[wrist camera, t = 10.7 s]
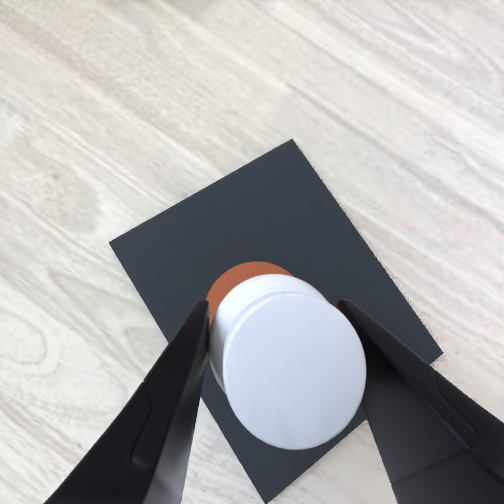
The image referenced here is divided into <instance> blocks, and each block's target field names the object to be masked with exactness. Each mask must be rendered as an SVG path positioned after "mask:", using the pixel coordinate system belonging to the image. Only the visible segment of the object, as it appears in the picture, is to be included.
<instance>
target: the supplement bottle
mask: <svg viewBox="0 0 504 504" xmlns="http://www.w3.org/2000/svg"><path fill="white" fill-rule="evenodd" d="M208 351H209V359H210V363H211V367H212V370H213V373H214V375H215V378H216V380H217V382H218V384H219V385H220V387H221V388H222V390H223V391H224V392H225V394H226V395H227V398H228V400H229V403H230V405H231V407H232V409H233V411H234V413H235V415H236V416H237V418H238V419H239V420H240V422H241V423H242V424H243V425H244V426H245V428H246V429H247V430H248V431H249V432H251V433H252V434H253V435H254V436H255V437H257V438H258V439H260V440H262V441H264V442H265V443H267V444H270V445H273V446H275V447H278V448H283V449H290V450H301V449H308V448H313V447H316V446H319V445H321V444H323V443H325V442H328V441H329V440H330V439H332V438H333V437H335V436H336V435H337V434H339V433H340V432H341V431H342V430H343V429H344V428H345V427H346V426H347V425H348V424H349V422H350V421H351V419H352V418H353V417H354V415H355V413H356V411H357V409H358V407H359V405H360V403H361V400H362V397H363V393H364V389H365V382H366V361H365V355H364V351H363V347H362V344H361V342H360V339H359V337H358V335H357V333H356V331H355V329H354V328H353V326H352V325H351V323H350V322H349V321H348V319H347V318H346V317H345V316H344V315H343V314H342V313H341V312H340V311H339V310H338V309H337V308H335V307H334V306H333V305H331V304H330V303H328V301H327V300H326V299H325V298H324V297H323V296H322V294H320V293H319V292H318V291H317V290H316V289H315V288H314V287H312V286H311V285H309V284H308V283H306V282H304V281H302V280H300V279H298V278H295V277H292V276H288V275H282V274H266V275H260V276H256V277H253V278H250V279H248V280H246V281H244V282H242V283H240V284H238V285H237V286H235V287H234V288H233V289H232V290H231V291H230V292H229V293H228V294H227V295H226V297H225V298H224V299H223V300H222V302H221V303H220V305H219V307H218V308H217V310H216V312H215V315H214V317H213V320H212V323H211V326H210V331H209V339H208Z"/></svg>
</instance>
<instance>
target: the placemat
mask: <svg viewBox="0 0 504 504" xmlns="http://www.w3.org/2000/svg"><path fill="white" fill-rule="evenodd" d="M109 244H110V246H111V247H112V249H113V251H114V252H115V254H116V256H117V257H118V259H119V261H120V262H121V264H122V266H123V267H124V269H125V271H126V272H127V274H128V276H129V277H130V279H131V281H132V282H133V284H134V286H135V287H136V289H137V291H138V292H139V294H140V296H141V297H142V299H143V301H144V302H145V304H146V306H147V307H148V309H149V311H150V312H151V314H152V316H153V317H154V319H155V321H156V323H157V324H158V326H159V328H160V329H161V331H162V333H163V334H164V336H165V338H166V339H167V341H168V343H170V341H171V340H172V338H173V337H174V335H175V334H176V333H177V331H178V330H179V328H180V327H181V325H182V324H183V322H184V321H185V320H186V318H187V317H188V315H189V314H190V312H191V311H192V309H193V308H194V307H195V305H196V304H197V302H198V301H209V305H210V326H211V323H212V320H213V317H214V315H215V312H216V310H217V308H218V307H219V305H220V303H221V302H222V300H223V299H224V298H225V297H226V295H227V294H228V293H229V292H230V291H231V290H232V289H233V288H234V287H235V286H237V285H238V284H240V283H242V282H244V281H246V280H248V279H250V278H253V277H256V276H260V275H266V274H282V275H288V276H292V277H295V278H298V279H300V280H302V281H304V282H306V283H308V284H309V285H311V286H312V287H314V288H315V289H316V290H317V291H318V292H319V293H320V294H322V296H323V297H324V298H325V299H326V300H327V301H328V303H330V304H331V305H333V306H334V307H335V308H336V306H337V304H338V301H339V300H340V299H350V300H351V301H353V302H354V303H355V304H356V305H357V306H359V307H360V308H361V309H362V310H364V311H365V312H366V313H367V314H368V315H370V316H371V317H372V318H373V319H374V320H376V321H377V322H378V323H379V324H380V325H382V326H383V327H384V328H385V329H386V330H388V331H389V332H390V333H391V334H392V335H394V336H395V337H396V338H397V339H398V340H400V341H401V342H402V343H403V344H405V345H406V346H407V347H408V348H409V349H411V350H412V351H413V352H414V353H415V354H417V355H418V356H419V357H420V358H421V359H423V360H424V361H425V362H426V363H427V364H429V365H430V364H431V363H432V362H433V361H435V360H436V359H437V358H438V357H439V356H440V355H442V354H443V352H442V350H441V349H440V347H439V346H438V345H437V343H436V342H435V340H434V339H433V337H432V336H431V335H430V333H429V332H428V330H427V329H426V328H425V326H424V325H423V323H422V322H421V320H420V319H419V318H418V316H417V315H416V313H415V312H414V311H413V309H412V308H411V306H410V305H409V303H408V302H407V301H406V299H405V298H404V296H403V295H402V294H401V292H400V291H399V289H398V288H397V286H396V285H395V284H394V282H393V281H392V279H391V278H390V277H389V275H388V274H387V272H386V271H385V269H384V268H383V267H382V265H381V264H380V262H379V261H378V260H377V258H376V257H375V255H374V254H373V252H372V251H371V250H370V248H369V247H368V245H367V244H366V243H365V241H364V240H363V238H362V237H361V235H360V234H359V233H358V231H357V230H356V228H355V227H354V226H353V224H352V223H351V221H350V220H349V218H348V217H347V216H346V214H345V213H344V211H343V210H342V209H341V207H340V206H339V204H338V203H337V201H336V200H335V199H334V197H333V196H332V194H331V193H330V192H329V190H328V189H327V187H326V186H325V184H324V183H323V182H322V180H321V179H320V177H319V176H318V175H317V173H316V172H315V170H314V169H313V167H312V166H311V165H310V163H309V162H308V160H307V159H306V158H305V156H304V155H303V153H302V152H301V150H300V149H299V148H298V146H297V145H296V143H295V142H294V141H293V139H291V140H289V141H287V142H285V143H284V144H282V145H280V146H278V147H276V148H275V149H273V150H271V151H269V152H268V153H266V154H264V155H262V156H261V157H259V158H257V159H255V160H254V161H252V162H250V163H248V164H246V165H245V166H243V167H241V168H239V169H238V170H236V171H234V172H232V173H231V174H229V175H227V176H225V177H223V178H222V179H220V180H218V181H216V182H215V183H213V184H211V185H209V186H208V187H206V188H204V189H202V190H200V191H199V192H197V193H195V194H193V195H192V196H190V197H188V198H186V199H185V200H183V201H181V202H179V203H177V204H176V205H174V206H172V207H170V208H169V209H167V210H165V211H163V212H162V213H160V214H158V215H156V216H154V217H153V218H151V219H149V220H147V221H146V222H144V223H142V224H140V225H139V226H137V227H135V228H133V229H131V230H130V231H128V232H126V233H124V234H123V235H121V236H119V237H117V238H116V239H114V240H112V241H110V242H109ZM209 331H210V330H209ZM201 398H202V399H203V401H204V403H205V404H206V406H207V408H208V409H209V411H210V413H211V414H212V416H213V418H214V419H215V421H216V423H217V424H218V426H219V428H220V429H221V431H222V433H223V434H224V436H225V438H226V439H227V441H228V443H229V444H230V446H231V448H232V449H233V451H234V453H235V454H236V456H237V458H238V459H239V461H240V463H241V464H242V466H243V468H244V469H245V471H246V473H247V474H248V476H249V478H250V479H251V481H252V483H253V484H254V486H255V488H256V489H257V491H258V493H259V494H260V496H261V498H262V499H263V501H264V503H265V504H267V503H269V502H270V501H271V500H272V499H273V498H274V497H276V496H277V495H278V494H279V493H280V492H281V491H283V490H284V489H285V488H286V487H287V486H289V485H290V484H291V483H292V482H293V481H294V480H296V479H297V478H298V477H299V476H300V475H301V474H303V473H304V472H305V471H306V470H307V469H308V468H310V467H311V466H312V465H313V464H314V463H315V462H317V461H318V460H319V459H320V458H321V457H322V456H324V455H325V454H326V453H327V452H328V451H329V450H331V449H332V448H333V447H334V446H335V445H336V444H338V443H339V442H340V441H341V440H342V439H343V438H345V437H346V436H347V435H348V434H349V433H350V432H352V431H353V430H354V429H355V428H356V427H357V426H359V425H360V424H361V423H362V422H363V421H364V420H366V419H367V417H366V414H365V412H364V409H363V406H362V403H360V405H359V407H358V409H357V411H356V413H355V415H354V417H353V418H352V419H351V421H350V422H349V424H348V425H347V426H346V427H345V428H344V429H343V430H342V431H341V432H340V433H339V434H337V435H336V436H335V437H333V438H332V439H330V440H329V441H328V442H325V443H323V444H321V445H319V446H316V447H313V448H308V449H301V450H290V449H283V448H278V447H275V446H273V445H270V444H267V443H265V442H264V441H262V440H260V439H258V438H257V437H255V436H254V435H253V434H252V433H251V432H249V431H248V430H247V429H246V428H245V426H244V425H243V424H242V423H241V422H240V420H239V419H238V418H237V416H236V415H235V413H234V411H233V409H232V407H231V405H230V403H229V400H228V398H227V395H226V394H225V392H224V391H223V390H222V388H221V387H220V385H219V384H218V382H217V380H216V378H215V375H214V373H213V370H212V367H211V363H210V359H209V351H208V357H207V363H206V368H205V374H204V379H203V385H202V390H201Z"/></svg>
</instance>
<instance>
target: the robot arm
mask: <svg viewBox="0 0 504 504" xmlns="http://www.w3.org/2000/svg"><path fill="white" fill-rule="evenodd" d="M336 308H337V309H338V310H339V311H340V312H341V313H342V314H343V315H344V316H345V317H346V318H347V319H348V321H349V322H350V323H351V325H352V326H353V328H354V329H355V331H356V333H357V335H358V337H359V339H360V342H361V344H362V347H363V351H364V355H365V361H366V382H365V389H364V393H363V397H362V400H361V403H362V406H363V409H364V412H365V414H366V417H367V420H368V423H369V425H370V428H371V431H372V434H373V436H374V439H375V442H376V444H377V447H378V450H379V453H380V455H381V458H382V461H383V464H384V466H385V469H386V472H387V475H388V477H389V480H390V483H391V486H392V489H393V492H394V494H395V497H396V500H397V503H398V504H504V423H503V422H501V421H500V420H499V419H497V418H496V417H495V416H493V415H492V414H491V413H489V412H488V411H487V410H485V409H484V408H483V407H481V406H480V405H479V404H477V403H476V402H475V401H473V400H472V399H471V398H469V397H468V396H467V395H466V394H464V393H463V392H462V391H460V390H459V389H458V388H457V387H456V386H454V385H453V384H452V383H451V382H449V381H448V380H447V379H446V378H444V377H443V376H442V375H441V374H440V373H438V372H437V371H436V370H434V369H433V368H432V367H431V366H430V365H429V364H427V363H426V362H425V361H424V360H423V359H421V358H420V357H419V356H418V355H417V354H415V353H414V352H413V351H412V350H411V349H409V348H408V347H407V346H406V345H405V344H403V343H402V342H401V341H400V340H398V339H397V338H396V337H395V336H394V335H392V334H391V333H390V332H389V331H388V330H386V329H385V328H384V327H383V326H382V325H380V324H379V323H378V322H377V321H376V320H374V319H373V318H372V317H371V316H370V315H368V314H367V313H366V312H365V311H364V310H362V309H361V308H360V307H359V306H357V305H356V304H355V303H354V302H353V301H351V300H350V299H340V300H339V301H338V304H337V306H336ZM209 330H210V305H209V301H198V302H197V304H196V305H195V307H194V308H193V309H192V311H191V312H190V314H189V315H188V317H187V318H186V320H185V321H184V322H183V324H182V325H181V327H180V328H179V330H178V331H177V333H176V334H175V335H174V337H173V338H172V340H171V341H170V343H169V344H168V345H167V347H166V348H165V350H164V351H163V353H162V354H161V356H160V357H159V358H158V360H157V361H156V363H155V364H154V366H153V367H152V369H151V370H150V371H149V373H148V374H147V376H146V377H145V379H144V382H142V383H141V384H140V386H139V387H138V389H137V390H136V391H135V393H134V394H133V396H132V397H131V398H130V400H129V401H128V403H127V404H126V405H125V407H124V408H123V409H122V411H121V412H120V413H119V415H118V416H117V417H116V418H115V420H114V421H113V422H112V423H111V425H110V426H109V427H108V428H107V430H106V431H105V432H104V433H103V434H102V436H101V437H100V438H99V439H98V440H97V442H96V443H95V444H94V445H93V447H92V448H91V449H90V450H89V451H88V453H87V454H86V455H85V456H84V457H83V459H82V460H81V461H80V462H79V463H78V465H77V466H76V467H75V468H74V469H73V471H72V472H71V473H70V474H69V475H68V477H67V478H66V479H65V480H64V481H63V483H62V484H61V485H60V486H59V487H58V489H57V490H56V491H55V492H54V493H53V494H52V495H51V496H50V497H49V498H48V499H47V500H46V501H45V502H44V503H43V504H181V503H180V502H181V500H182V494H183V489H184V483H185V478H186V472H187V467H188V461H189V456H190V450H191V445H192V439H193V434H194V429H195V423H196V418H197V412H198V407H199V401H200V396H201V390H202V385H203V379H204V374H205V368H206V363H207V357H208V339H209Z"/></svg>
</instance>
